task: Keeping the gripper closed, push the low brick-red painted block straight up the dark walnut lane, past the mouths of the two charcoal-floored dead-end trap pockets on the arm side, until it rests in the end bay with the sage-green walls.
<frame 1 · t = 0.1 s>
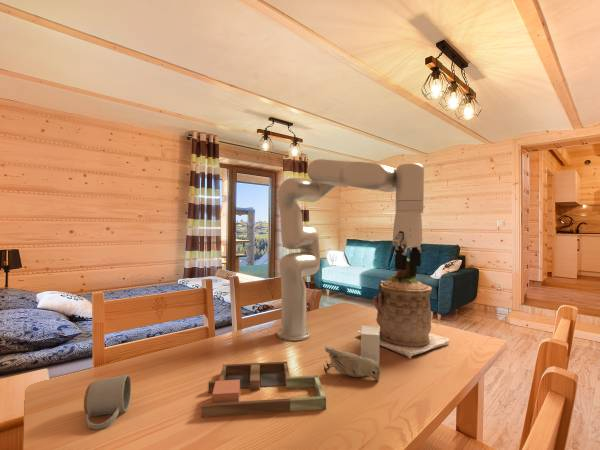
hand: (408, 267, 90), 31 cm above the table, tool pointing down, fingers open, 9 cm apart
decorative bird: (350, 377, 90), on the table
ceramic mug: (108, 416, 71), on the table
block: (226, 402, 76), on the table
trap run: (259, 399, 77), on the table
cookie jar: (402, 340, 117), on the table
small box: (369, 364, 97), on the table
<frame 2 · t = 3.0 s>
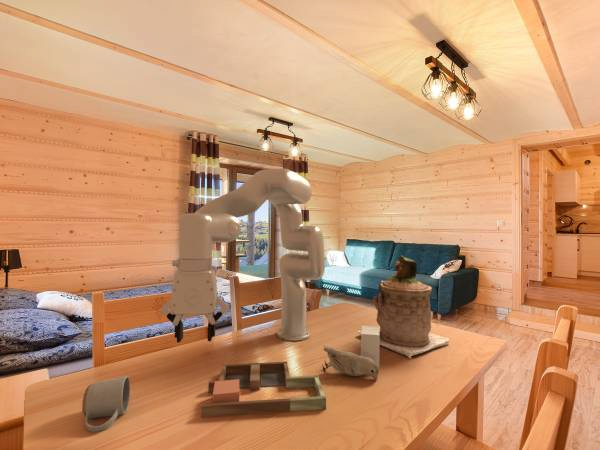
hand: (195, 339, 75), 16 cm above the table, tool pointing down, fingers open, 6 cm apart
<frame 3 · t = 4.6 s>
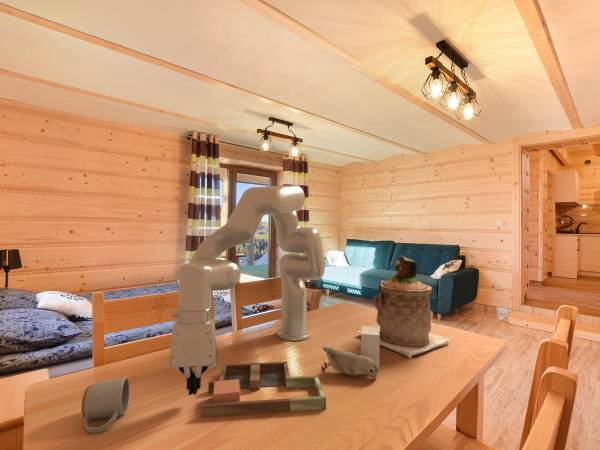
hand: (193, 391, 75), 3 cm above the table, tool pointing down, fingers closed
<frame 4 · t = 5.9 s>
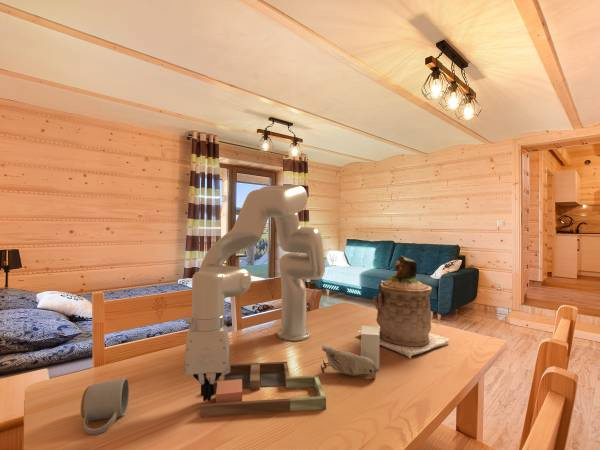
hand: (207, 397, 75), 1 cm above the table, tool pointing down, fingers closed
block: (229, 402, 76), on the table, touching gripper
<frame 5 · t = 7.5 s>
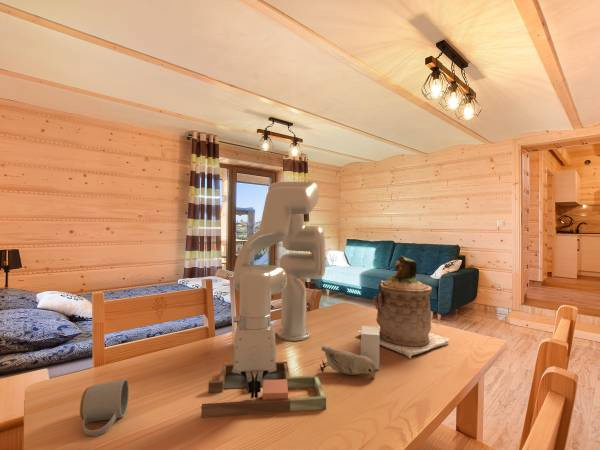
hand: (254, 394, 77), 1 cm above the table, tool pointing down, fingers closed
block: (275, 402, 76), on the table, touching gripper
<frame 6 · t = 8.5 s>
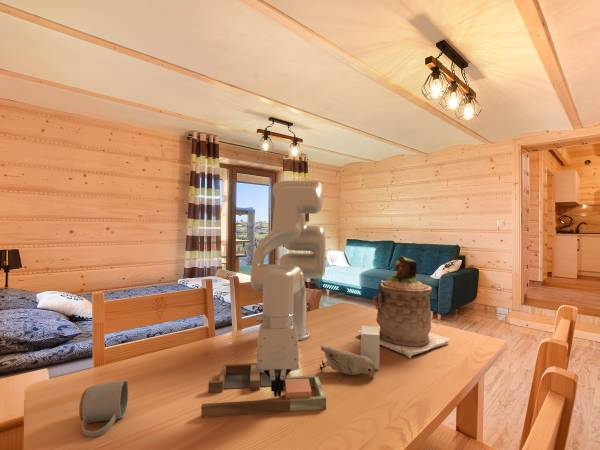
hand: (277, 393, 78), 1 cm above the table, tool pointing down, fingers closed
block: (297, 401, 77), on the table, touching gripper
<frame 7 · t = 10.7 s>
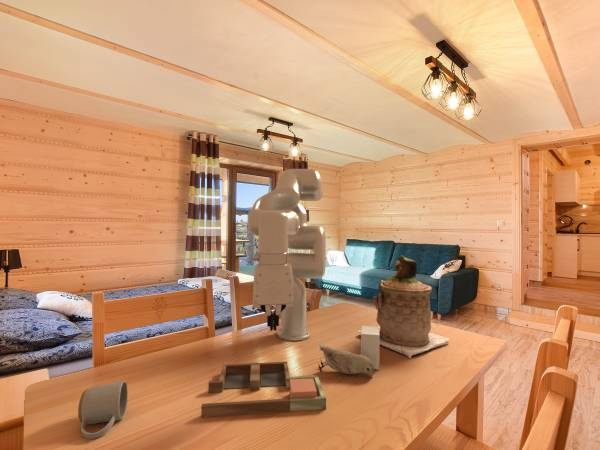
hand: (273, 328, 81), 16 cm above the table, tool pointing down, fingers closed
block: (302, 401, 77), on the table
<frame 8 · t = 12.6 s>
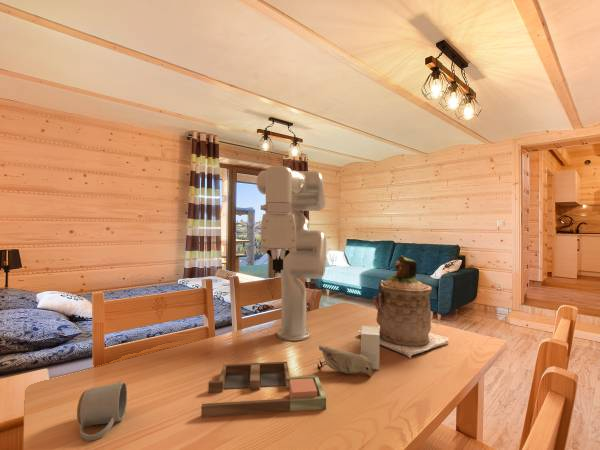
hand: (277, 272, 91), 29 cm above the table, tool pointing down, fingers closed
at the end: block inside the target area (1.3 cm from its centre), on the table; block tilted 0° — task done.
